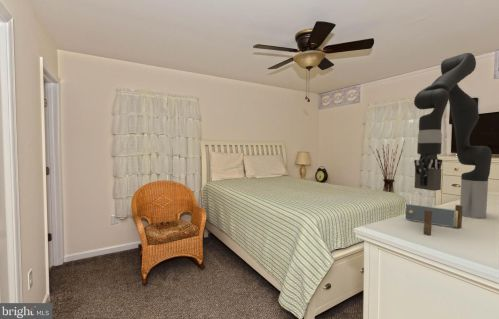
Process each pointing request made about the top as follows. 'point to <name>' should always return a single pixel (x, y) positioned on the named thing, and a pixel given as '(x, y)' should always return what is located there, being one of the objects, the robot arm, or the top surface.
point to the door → (438, 215)
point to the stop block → (430, 180)
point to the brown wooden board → (429, 219)
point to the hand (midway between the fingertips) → (427, 185)
